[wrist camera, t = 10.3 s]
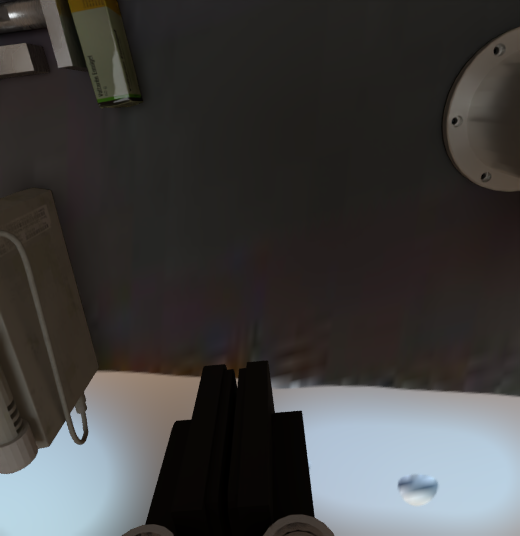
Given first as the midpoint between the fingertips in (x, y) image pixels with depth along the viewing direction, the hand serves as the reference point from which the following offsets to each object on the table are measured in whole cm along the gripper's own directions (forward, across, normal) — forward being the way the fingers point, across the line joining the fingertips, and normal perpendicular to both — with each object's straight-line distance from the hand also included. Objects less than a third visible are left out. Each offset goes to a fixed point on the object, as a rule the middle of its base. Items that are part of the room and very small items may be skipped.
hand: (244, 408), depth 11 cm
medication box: (+28, +10, -14) cm, 32 cm away
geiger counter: (+27, +20, +10) cm, 35 cm away
